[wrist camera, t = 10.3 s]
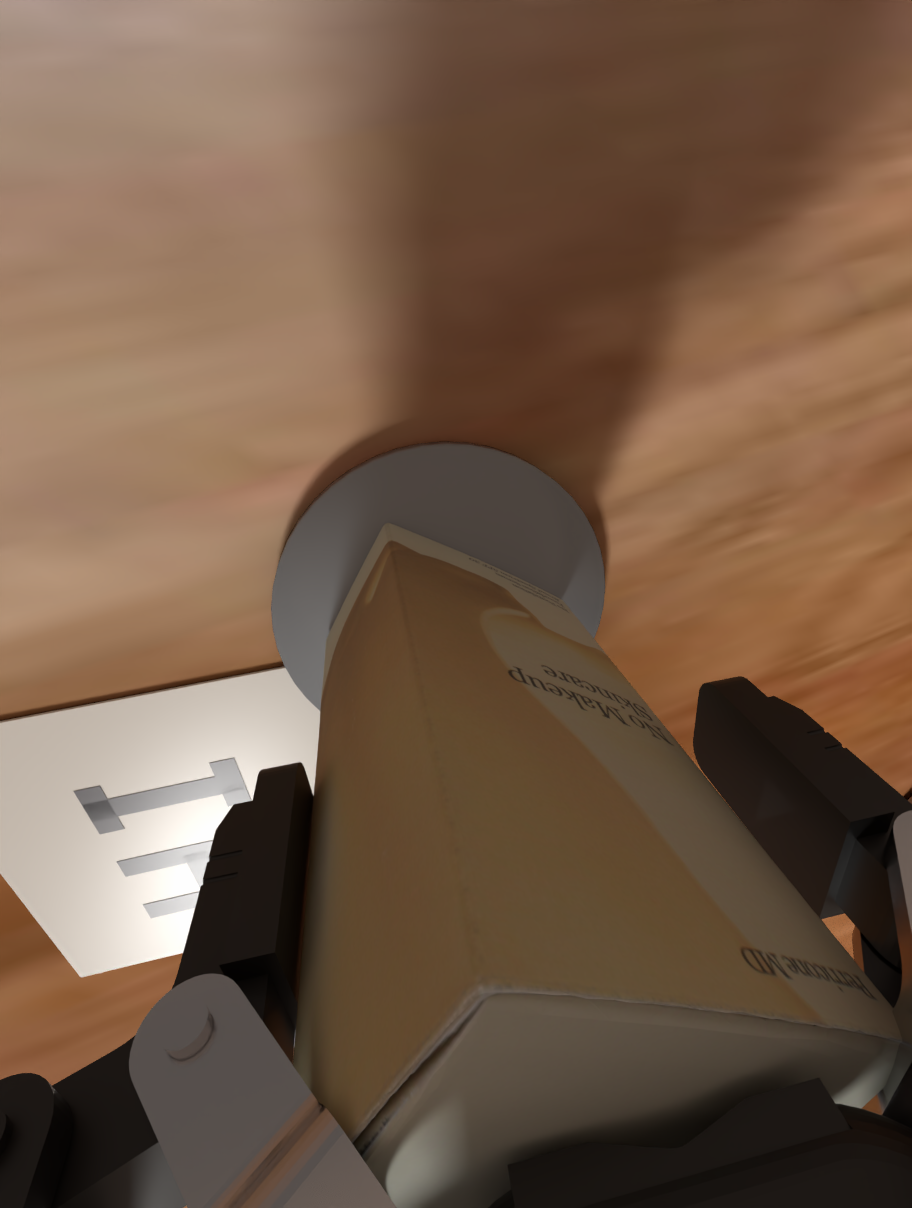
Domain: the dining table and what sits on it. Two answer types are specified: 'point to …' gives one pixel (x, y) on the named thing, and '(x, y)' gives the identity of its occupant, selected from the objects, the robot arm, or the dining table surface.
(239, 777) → the card
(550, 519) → the slate coaster
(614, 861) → the skincare box
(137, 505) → the dining table surface
